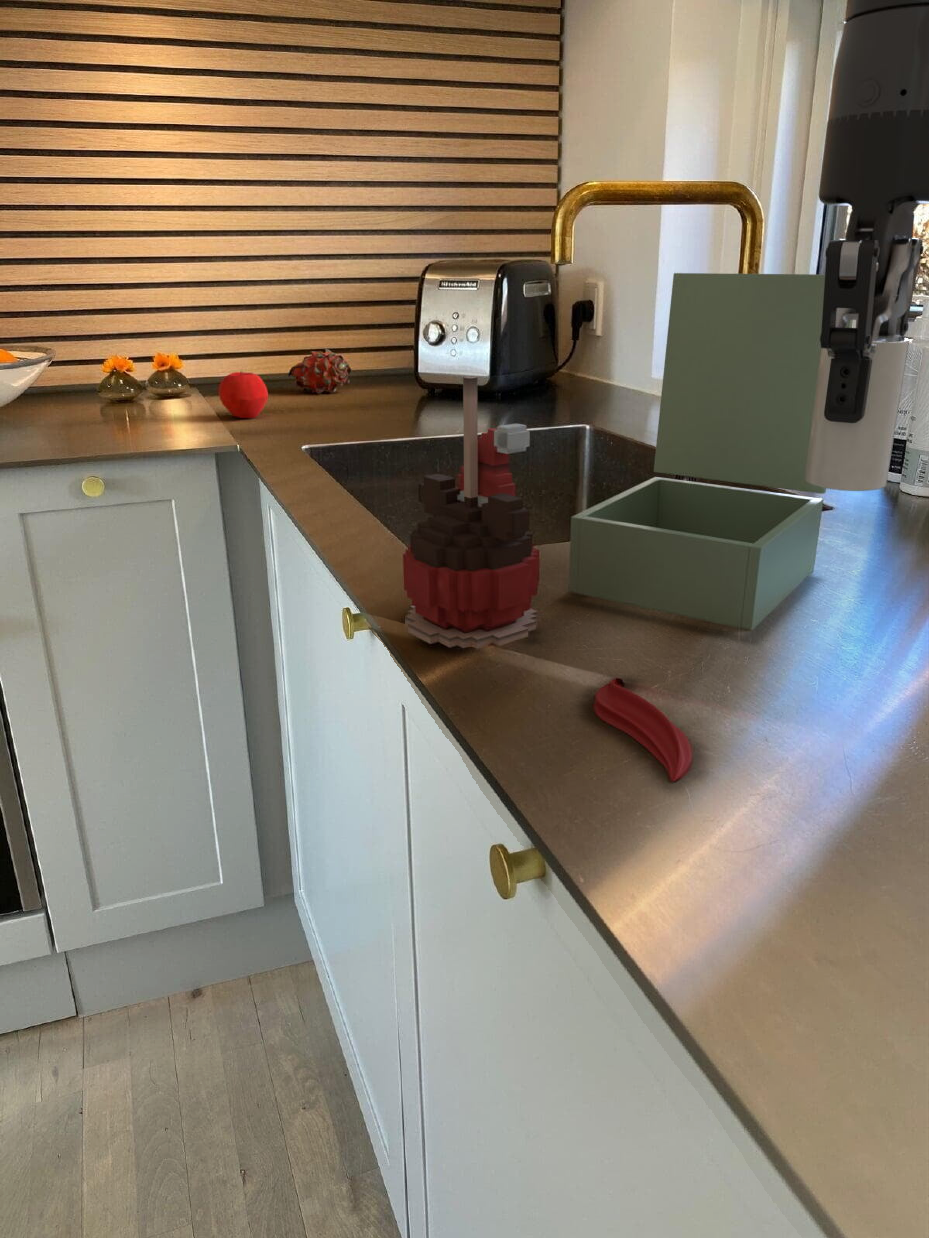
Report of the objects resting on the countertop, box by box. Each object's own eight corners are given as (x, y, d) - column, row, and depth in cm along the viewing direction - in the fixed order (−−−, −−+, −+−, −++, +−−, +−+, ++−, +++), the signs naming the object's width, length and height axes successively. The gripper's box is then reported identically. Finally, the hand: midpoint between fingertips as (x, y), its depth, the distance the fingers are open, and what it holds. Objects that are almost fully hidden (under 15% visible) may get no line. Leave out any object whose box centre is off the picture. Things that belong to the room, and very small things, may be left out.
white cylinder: (893, 479, 62) (917, 336, 58) (876, 495, 58) (900, 344, 55) (816, 470, 64) (834, 333, 61) (794, 484, 61) (812, 339, 57)
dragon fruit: (357, 401, 178) (295, 411, 179) (357, 370, 183) (297, 379, 184) (345, 367, 171) (281, 378, 172) (345, 336, 175) (283, 346, 177)
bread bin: (750, 640, 66) (761, 548, 64) (567, 600, 74) (570, 516, 71) (812, 578, 78) (823, 498, 76) (649, 549, 86) (654, 476, 83)
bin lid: (857, 274, 70) (871, 278, 74) (673, 273, 78) (694, 276, 82) (823, 494, 75) (838, 486, 79) (653, 472, 83) (674, 466, 87)
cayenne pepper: (587, 682, 60) (588, 654, 59) (659, 682, 60) (661, 654, 59) (611, 781, 49) (613, 749, 48) (700, 782, 49) (703, 749, 48)
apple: (212, 417, 154) (207, 371, 151) (256, 411, 159) (251, 366, 156) (233, 423, 148) (228, 375, 146) (278, 417, 153) (274, 371, 150)
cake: (377, 624, 70) (366, 375, 63) (476, 596, 75) (475, 364, 68) (466, 672, 62) (463, 393, 55) (569, 637, 67) (578, 379, 60)
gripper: (948, 91, 46) (892, 439, 52) (989, 119, 57) (939, 404, 63) (793, 104, 50) (758, 427, 56) (859, 128, 61) (824, 396, 67)
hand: (854, 413), depth 59 cm, fingers closed on white cylinder, 5 cm apart
